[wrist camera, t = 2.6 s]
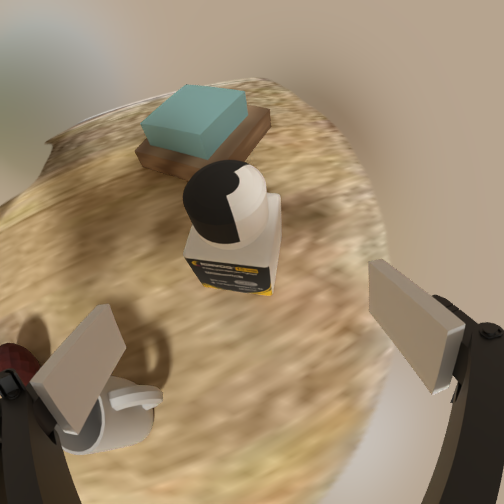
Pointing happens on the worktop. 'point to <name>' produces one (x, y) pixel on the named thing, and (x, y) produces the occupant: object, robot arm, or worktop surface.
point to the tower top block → (196, 120)
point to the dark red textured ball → (18, 361)
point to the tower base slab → (230, 149)
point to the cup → (115, 418)
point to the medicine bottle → (233, 228)
